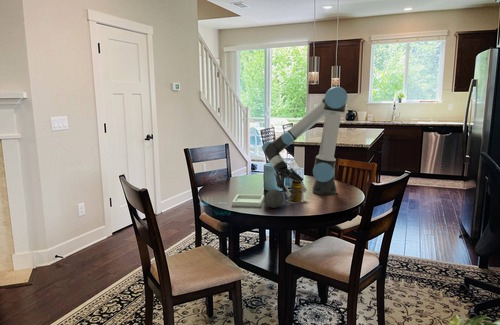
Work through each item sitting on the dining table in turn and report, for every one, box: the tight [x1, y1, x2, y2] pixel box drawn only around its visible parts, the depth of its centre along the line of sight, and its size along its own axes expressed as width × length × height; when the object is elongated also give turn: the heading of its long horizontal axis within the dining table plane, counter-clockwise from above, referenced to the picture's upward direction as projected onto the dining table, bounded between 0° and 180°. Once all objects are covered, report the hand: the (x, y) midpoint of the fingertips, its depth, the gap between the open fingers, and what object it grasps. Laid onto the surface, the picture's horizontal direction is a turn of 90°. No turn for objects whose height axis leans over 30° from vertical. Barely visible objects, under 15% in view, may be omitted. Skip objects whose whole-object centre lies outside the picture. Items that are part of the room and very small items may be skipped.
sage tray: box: [231, 193, 265, 208], centre depth 200 cm, size 16×16×2 cm
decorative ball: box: [264, 188, 285, 209], centre depth 190 cm, size 10×10×10 cm
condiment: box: [284, 179, 305, 205], centre depth 201 cm, size 7×8×12 cm
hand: (297, 193), depth 200 cm, fingers open, 13 cm apart
